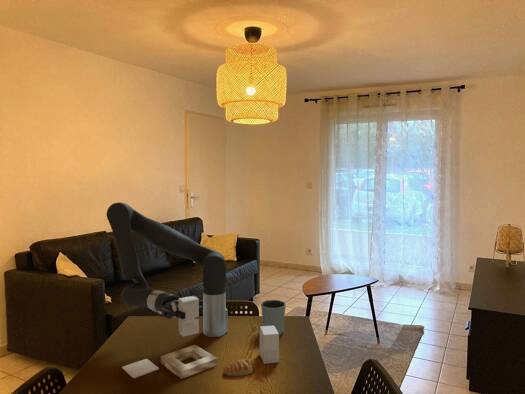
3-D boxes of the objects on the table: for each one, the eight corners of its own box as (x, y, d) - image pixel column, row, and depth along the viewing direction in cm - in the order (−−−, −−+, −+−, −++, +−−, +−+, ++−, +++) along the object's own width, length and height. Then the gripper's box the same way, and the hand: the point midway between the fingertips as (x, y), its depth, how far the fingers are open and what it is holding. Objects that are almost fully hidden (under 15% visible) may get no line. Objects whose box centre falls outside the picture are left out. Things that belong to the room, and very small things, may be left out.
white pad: (146, 359, 144) (146, 358, 144) (158, 369, 138) (158, 368, 138) (122, 367, 138) (122, 366, 138) (133, 378, 132) (133, 377, 132)
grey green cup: (289, 330, 171) (289, 302, 170) (277, 339, 162) (277, 309, 161) (269, 325, 176) (269, 298, 175) (256, 333, 168) (256, 304, 167)
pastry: (227, 380, 132) (227, 368, 131) (220, 370, 138) (220, 359, 137) (254, 374, 135) (254, 363, 135) (246, 365, 141) (246, 354, 141)
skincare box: (183, 337, 137) (182, 302, 136) (178, 332, 141) (177, 298, 140) (199, 333, 140) (199, 298, 139) (194, 328, 144) (194, 295, 143)
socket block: (195, 351, 151) (195, 344, 151) (217, 365, 141) (217, 358, 141) (160, 363, 142) (160, 356, 142) (181, 379, 132) (181, 371, 131)
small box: (279, 363, 143) (279, 333, 142) (263, 364, 142) (263, 335, 141) (274, 352, 151) (274, 325, 150) (259, 353, 150) (259, 325, 149)
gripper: (145, 297, 143) (176, 308, 133) (177, 287, 154) (208, 296, 144) (145, 318, 143) (176, 330, 133) (177, 306, 155) (208, 317, 144)
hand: (193, 312), depth 139 cm, fingers closed on skincare box, 7 cm apart
